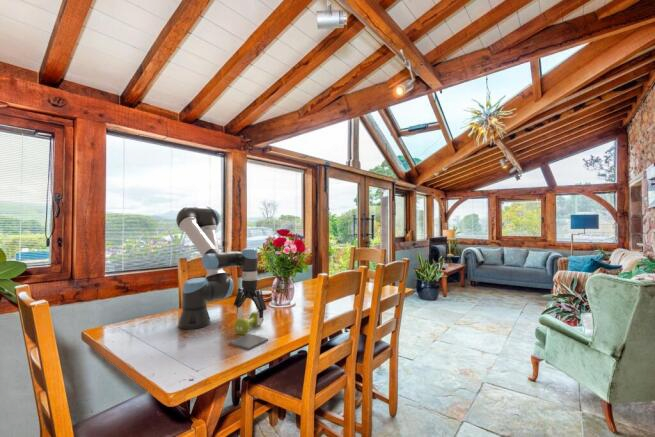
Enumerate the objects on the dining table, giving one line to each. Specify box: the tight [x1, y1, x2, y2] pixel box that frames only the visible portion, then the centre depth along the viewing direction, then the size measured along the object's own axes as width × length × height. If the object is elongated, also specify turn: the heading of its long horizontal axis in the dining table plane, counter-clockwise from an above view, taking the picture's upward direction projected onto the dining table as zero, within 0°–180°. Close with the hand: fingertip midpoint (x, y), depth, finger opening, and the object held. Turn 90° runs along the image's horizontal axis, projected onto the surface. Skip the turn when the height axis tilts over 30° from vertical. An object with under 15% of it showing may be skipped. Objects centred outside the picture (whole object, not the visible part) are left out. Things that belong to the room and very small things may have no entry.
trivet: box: [228, 333, 269, 351], centre depth 141 cm, size 12×12×1 cm
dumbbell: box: [233, 311, 265, 336], centre depth 157 cm, size 16×8×7 cm, turn 159°
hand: (249, 322), depth 157 cm, fingers open, 13 cm apart
